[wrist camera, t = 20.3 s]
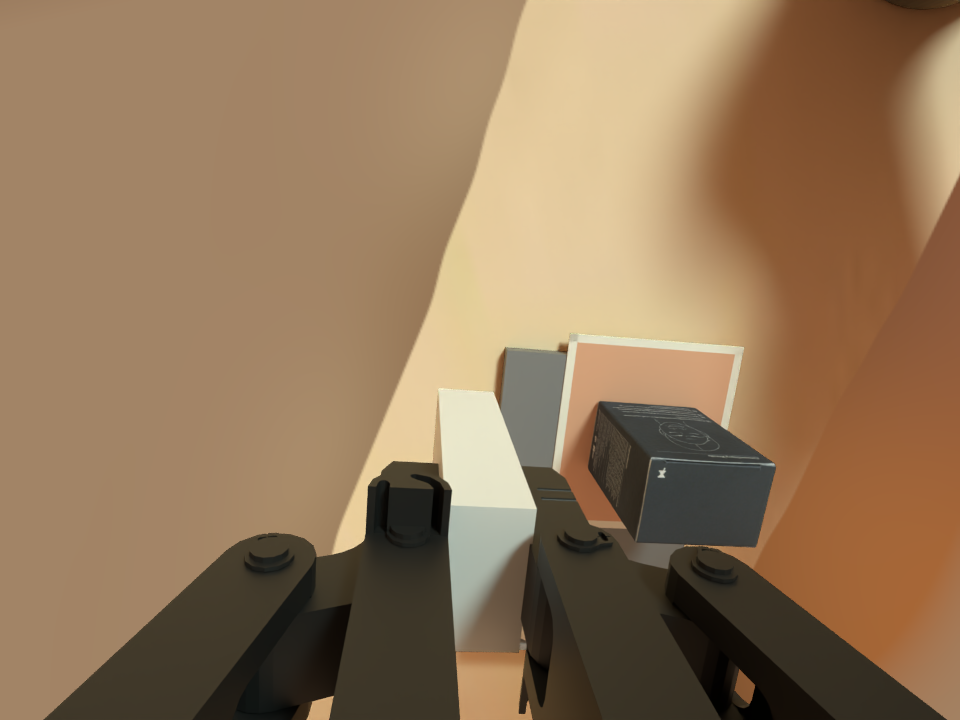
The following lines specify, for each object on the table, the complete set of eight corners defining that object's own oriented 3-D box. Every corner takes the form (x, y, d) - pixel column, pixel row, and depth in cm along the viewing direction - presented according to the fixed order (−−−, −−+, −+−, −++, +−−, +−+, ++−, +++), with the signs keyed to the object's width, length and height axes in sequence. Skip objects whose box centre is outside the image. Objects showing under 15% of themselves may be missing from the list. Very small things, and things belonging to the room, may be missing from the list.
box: (585, 469, 44) (633, 545, 34) (597, 398, 43) (650, 455, 33) (684, 475, 45) (759, 551, 35) (698, 406, 44) (780, 463, 34)
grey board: (736, 343, 44) (766, 356, 40) (678, 634, 50) (699, 669, 46) (507, 326, 42) (515, 336, 38) (475, 629, 48) (479, 665, 44)
